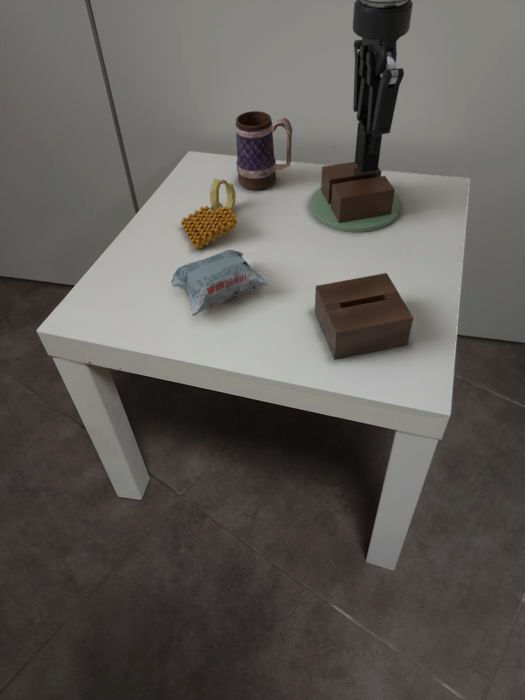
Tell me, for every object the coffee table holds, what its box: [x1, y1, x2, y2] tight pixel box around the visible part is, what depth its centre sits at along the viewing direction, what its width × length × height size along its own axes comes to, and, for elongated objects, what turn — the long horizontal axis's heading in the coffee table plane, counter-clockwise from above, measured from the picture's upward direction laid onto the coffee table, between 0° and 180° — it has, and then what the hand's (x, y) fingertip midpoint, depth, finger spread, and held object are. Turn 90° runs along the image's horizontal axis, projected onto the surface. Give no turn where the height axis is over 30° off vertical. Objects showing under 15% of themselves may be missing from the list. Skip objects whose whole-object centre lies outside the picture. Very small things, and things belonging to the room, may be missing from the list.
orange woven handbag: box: [180, 178, 238, 250], centre depth 89 cm, size 7×10×15 cm
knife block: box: [314, 272, 414, 360], centre depth 71 cm, size 9×10×5 cm
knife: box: [353, 121, 377, 181], centre depth 87 cm, size 2×4×13 cm, turn 102°
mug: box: [235, 110, 293, 191], centre depth 95 cm, size 10×7×12 cm
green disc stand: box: [310, 161, 401, 233], centre depth 91 cm, size 15×15×5 cm
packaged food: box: [171, 249, 270, 317], centre depth 78 cm, size 9×12×5 cm
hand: (366, 165), depth 88 cm, fingers closed on knife, 2 cm apart
